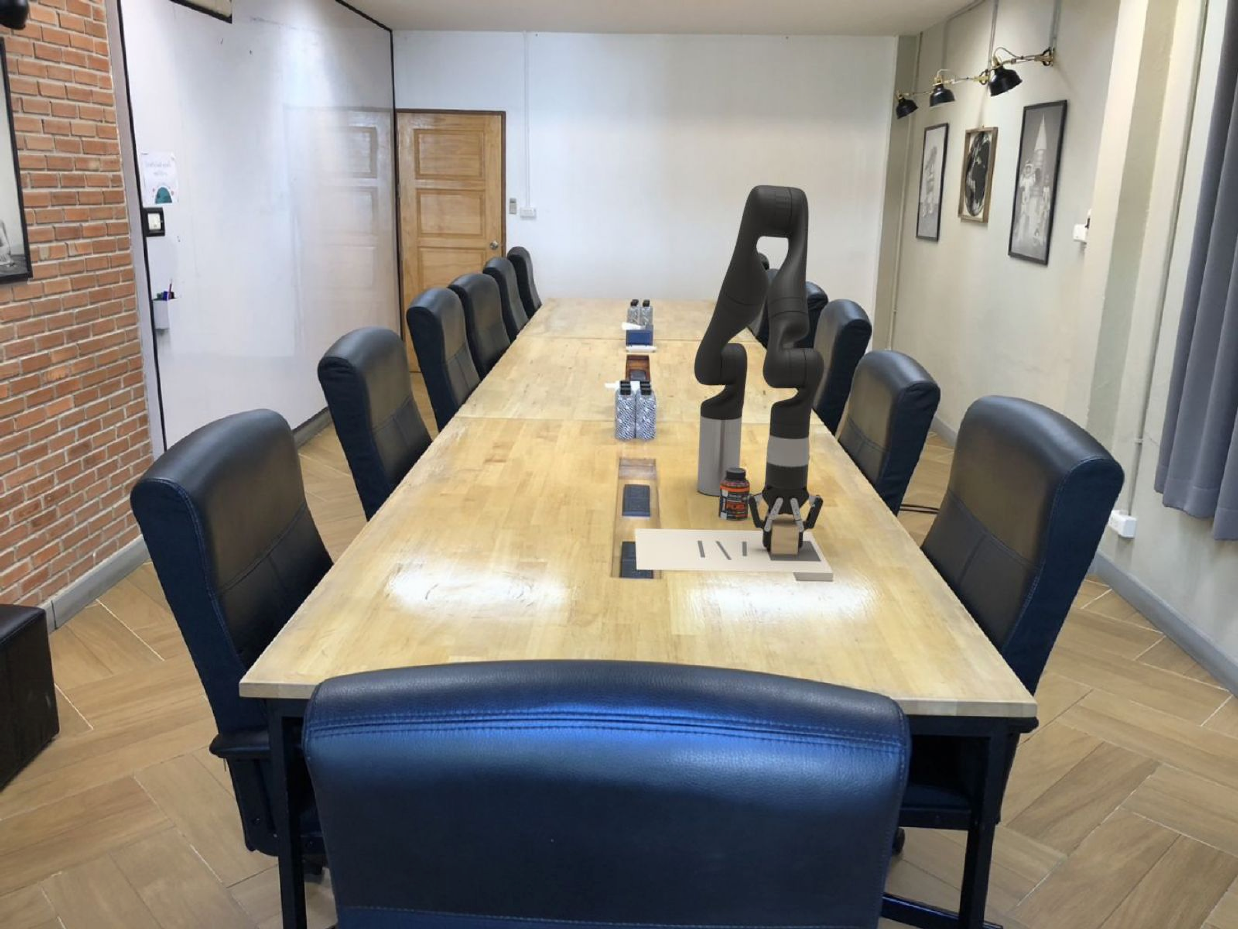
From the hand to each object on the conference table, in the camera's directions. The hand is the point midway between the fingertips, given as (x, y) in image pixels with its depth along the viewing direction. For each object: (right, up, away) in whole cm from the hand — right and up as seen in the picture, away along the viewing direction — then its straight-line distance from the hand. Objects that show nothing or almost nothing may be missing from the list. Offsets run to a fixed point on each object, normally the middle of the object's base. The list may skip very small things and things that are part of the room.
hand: (781, 548), depth 187 cm
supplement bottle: (-7, +3, +20) cm, 21 cm away
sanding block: (0, 0, 0) cm, 0 cm away
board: (-10, -2, 0) cm, 10 cm away
